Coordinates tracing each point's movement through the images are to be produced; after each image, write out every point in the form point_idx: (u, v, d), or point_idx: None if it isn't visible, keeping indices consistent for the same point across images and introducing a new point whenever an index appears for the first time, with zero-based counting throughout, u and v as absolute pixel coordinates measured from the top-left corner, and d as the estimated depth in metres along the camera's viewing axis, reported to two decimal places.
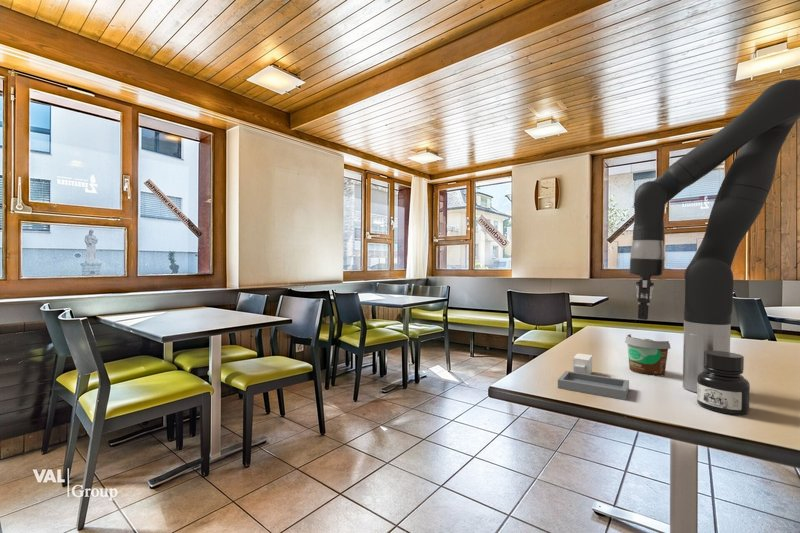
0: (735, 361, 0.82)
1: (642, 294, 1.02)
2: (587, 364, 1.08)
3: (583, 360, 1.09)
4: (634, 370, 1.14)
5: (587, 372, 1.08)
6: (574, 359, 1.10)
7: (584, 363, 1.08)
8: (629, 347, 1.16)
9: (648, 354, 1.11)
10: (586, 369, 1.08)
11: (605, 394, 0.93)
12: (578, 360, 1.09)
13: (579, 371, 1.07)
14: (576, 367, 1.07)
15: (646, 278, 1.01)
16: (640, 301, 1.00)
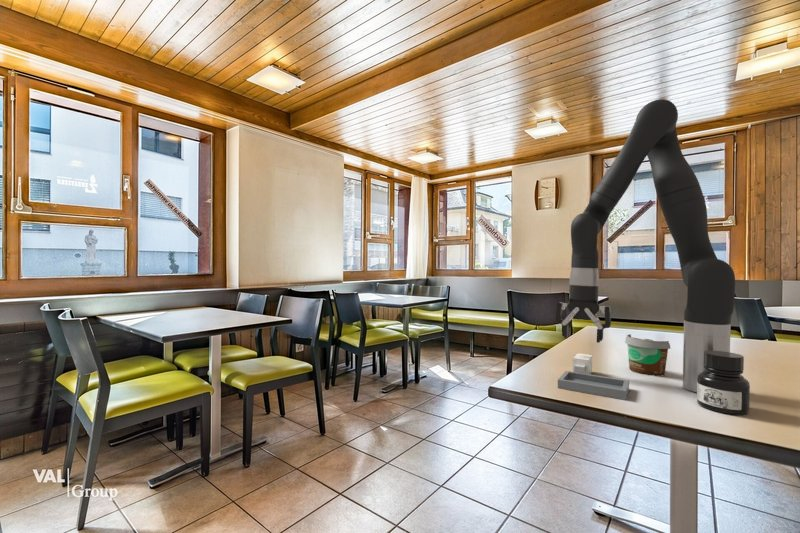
0: (735, 361, 0.82)
1: (597, 319, 1.09)
2: (587, 364, 1.08)
3: (583, 360, 1.09)
4: (634, 370, 1.14)
5: (587, 372, 1.08)
6: (574, 359, 1.10)
7: (584, 363, 1.08)
8: (629, 347, 1.16)
9: (648, 354, 1.11)
10: (586, 369, 1.08)
11: (605, 394, 0.93)
12: (578, 360, 1.09)
13: (579, 371, 1.07)
14: (576, 367, 1.07)
15: (597, 304, 1.10)
16: (608, 326, 1.07)
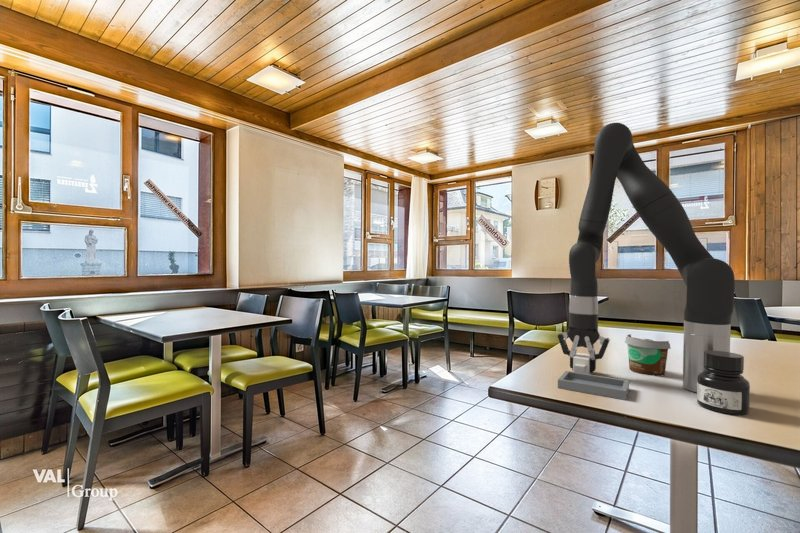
0: (735, 361, 0.82)
1: (593, 349, 1.10)
2: (587, 364, 1.08)
3: (583, 359, 1.09)
4: (634, 370, 1.14)
5: (587, 371, 1.08)
6: (574, 358, 1.10)
7: (584, 363, 1.08)
8: (629, 347, 1.16)
9: (648, 354, 1.11)
10: (586, 368, 1.08)
11: (605, 394, 0.93)
12: (578, 360, 1.09)
13: (579, 371, 1.07)
14: (576, 367, 1.07)
15: (597, 331, 1.10)
16: (601, 357, 1.08)
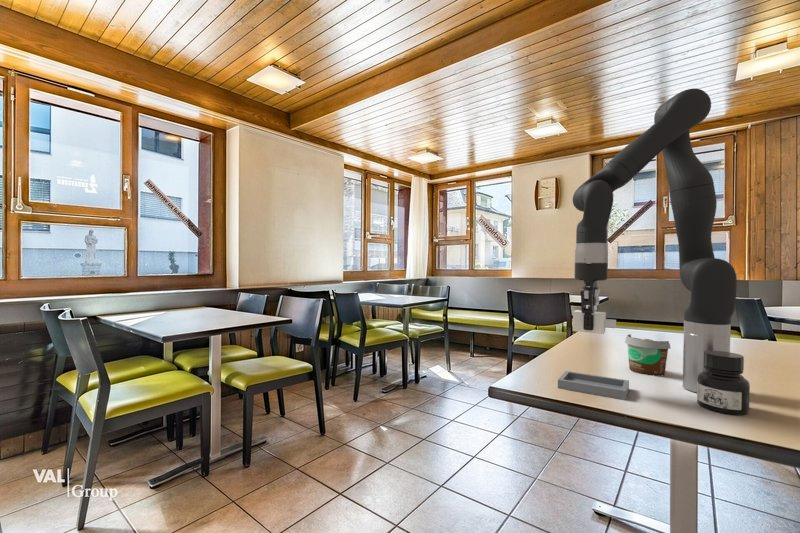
0: (735, 361, 0.82)
1: None
2: (605, 317, 0.99)
3: (605, 313, 0.98)
4: (634, 370, 1.14)
5: None
6: (603, 315, 0.96)
7: (605, 317, 0.98)
8: (629, 347, 1.16)
9: (648, 354, 1.11)
10: None
11: (605, 394, 0.93)
12: (604, 315, 0.97)
13: (615, 325, 0.96)
14: (615, 322, 0.95)
15: None
16: None
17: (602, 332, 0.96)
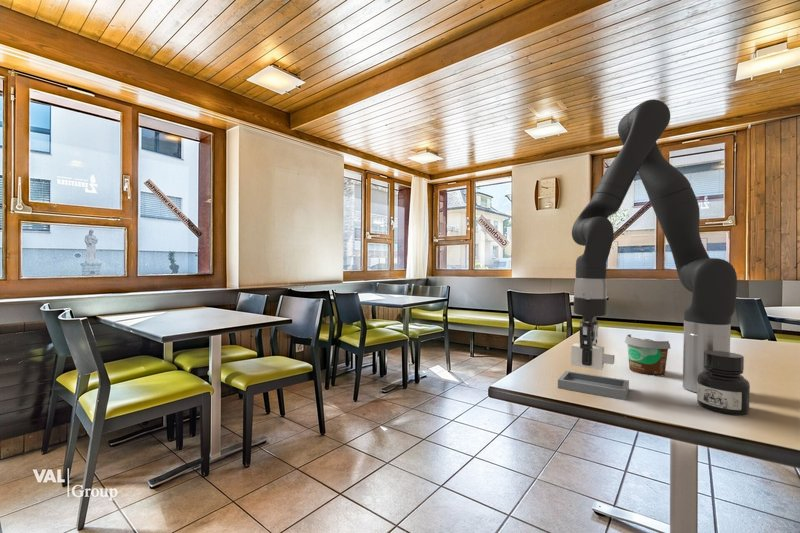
0: (735, 361, 0.82)
1: None
2: None
3: (603, 348, 0.98)
4: (634, 370, 1.14)
5: None
6: (602, 350, 0.96)
7: (603, 352, 0.98)
8: (629, 347, 1.16)
9: (648, 354, 1.11)
10: None
11: (605, 394, 0.93)
12: (603, 350, 0.97)
13: (613, 361, 0.96)
14: (613, 358, 0.95)
15: None
16: None
17: (600, 368, 0.96)
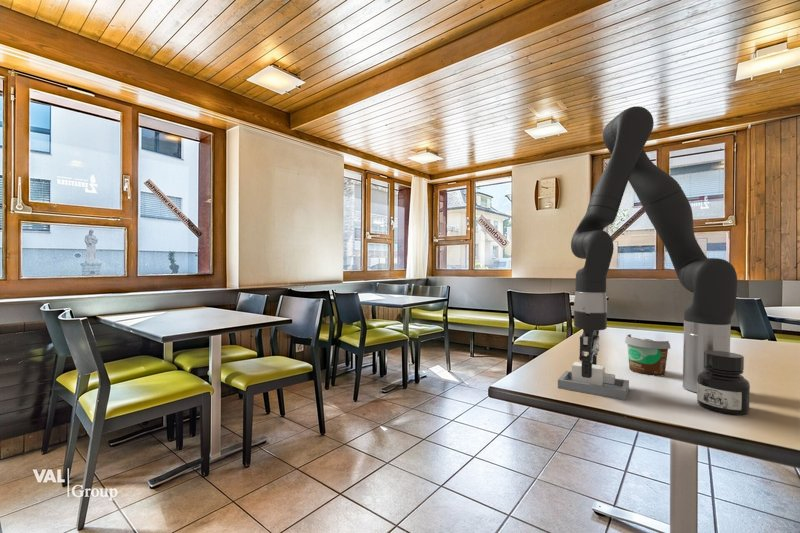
0: (735, 361, 0.82)
1: None
2: (604, 371, 0.99)
3: (604, 368, 0.98)
4: (634, 370, 1.14)
5: None
6: (602, 370, 0.96)
7: (604, 371, 0.98)
8: (629, 347, 1.16)
9: (648, 354, 1.11)
10: None
11: (605, 394, 0.93)
12: (603, 370, 0.97)
13: (614, 381, 0.96)
14: (614, 377, 0.95)
15: None
16: None
17: None
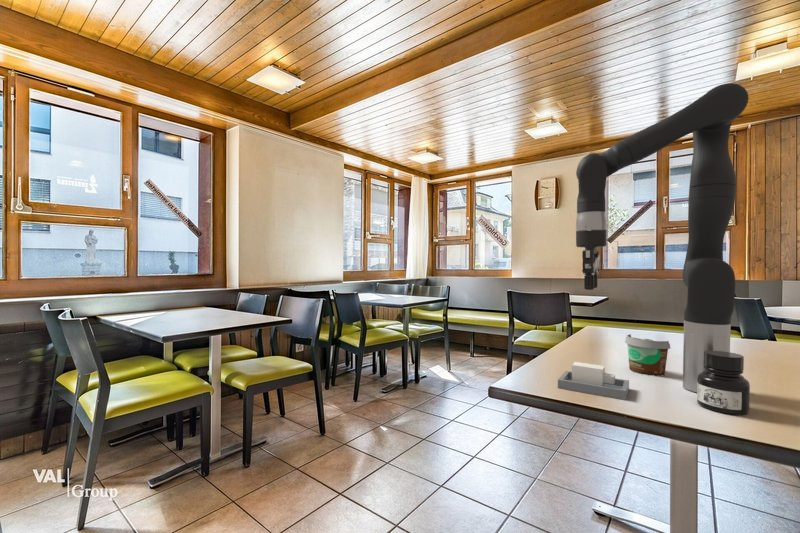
0: (735, 361, 0.82)
1: None
2: (604, 371, 0.99)
3: (604, 368, 0.98)
4: (634, 370, 1.14)
5: None
6: (602, 370, 0.96)
7: (604, 371, 0.98)
8: (629, 347, 1.16)
9: (648, 354, 1.11)
10: None
11: (605, 394, 0.93)
12: (603, 370, 0.97)
13: (614, 381, 0.96)
14: (614, 377, 0.95)
15: None
16: None
17: None
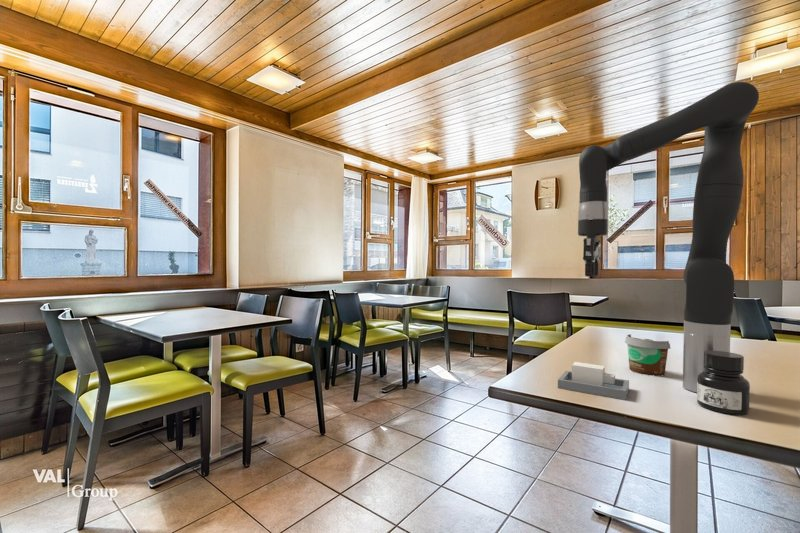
0: (735, 361, 0.82)
1: None
2: (604, 371, 0.99)
3: (604, 368, 0.98)
4: (634, 370, 1.14)
5: None
6: (602, 370, 0.96)
7: (604, 371, 0.98)
8: (629, 347, 1.16)
9: (648, 354, 1.11)
10: None
11: (605, 394, 0.93)
12: (603, 370, 0.97)
13: (614, 381, 0.96)
14: (614, 377, 0.95)
15: None
16: None
17: None
